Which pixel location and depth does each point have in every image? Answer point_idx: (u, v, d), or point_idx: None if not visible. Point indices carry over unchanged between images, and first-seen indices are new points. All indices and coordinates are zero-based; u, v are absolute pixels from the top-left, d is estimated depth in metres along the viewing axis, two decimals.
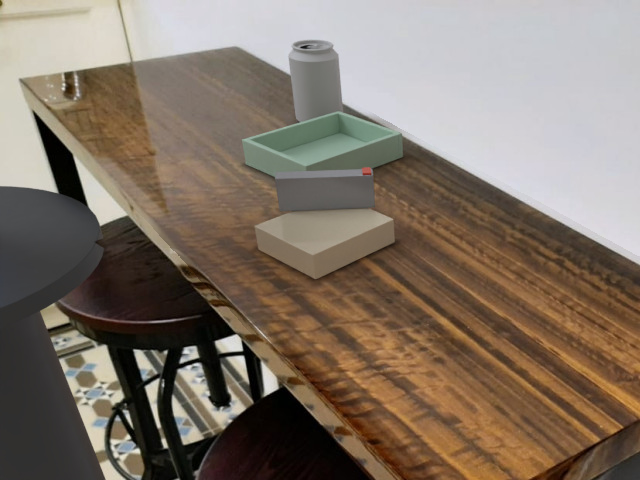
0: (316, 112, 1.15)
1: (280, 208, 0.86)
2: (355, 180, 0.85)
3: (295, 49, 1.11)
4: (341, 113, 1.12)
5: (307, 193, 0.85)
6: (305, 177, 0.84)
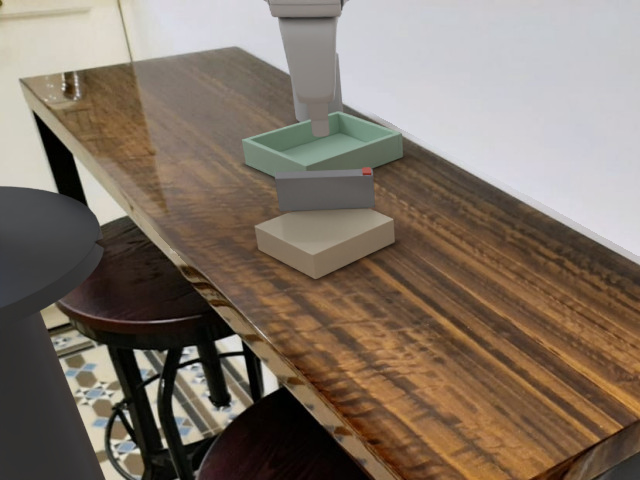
0: None
1: (280, 208, 0.86)
2: (355, 180, 0.85)
3: None
4: (341, 113, 1.12)
5: (307, 193, 0.85)
6: (305, 177, 0.84)
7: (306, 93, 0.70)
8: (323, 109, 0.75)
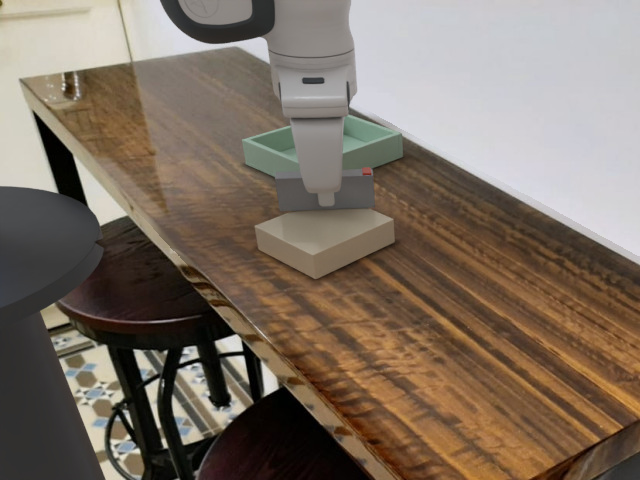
0: None
1: (280, 208, 0.86)
2: (355, 180, 0.85)
3: None
4: None
5: (307, 193, 0.85)
6: None
7: (314, 185, 0.76)
8: None
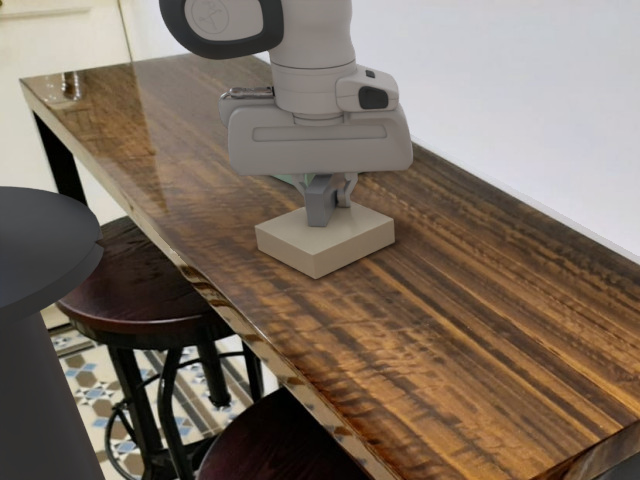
0: None
1: (325, 223, 0.83)
2: None
3: None
4: None
5: (330, 197, 0.85)
6: (327, 181, 0.84)
7: None
8: None
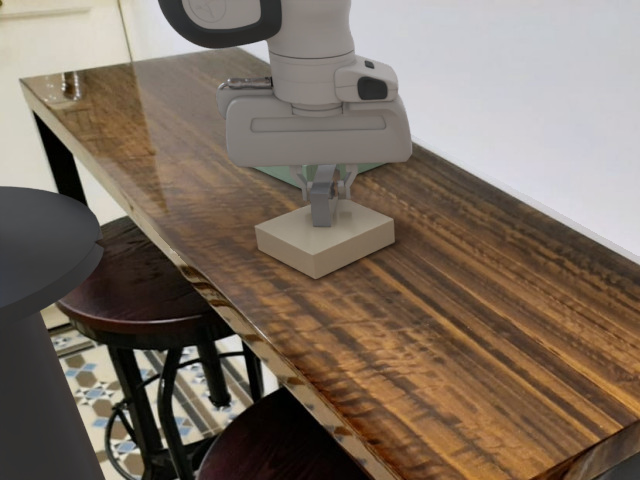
0: None
1: (330, 223, 0.83)
2: (337, 166, 0.88)
3: None
4: None
5: (332, 196, 0.85)
6: (329, 181, 0.84)
7: None
8: None
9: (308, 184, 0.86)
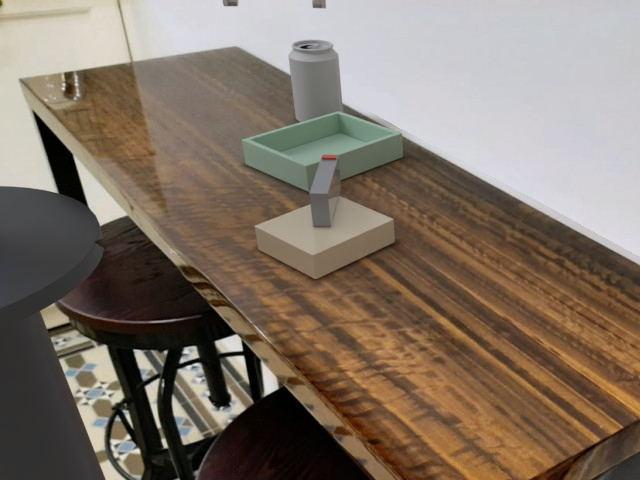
0: (316, 112, 1.15)
1: (330, 223, 0.83)
2: (337, 166, 0.88)
3: (295, 49, 1.11)
4: (341, 113, 1.12)
5: (332, 196, 0.85)
6: (329, 181, 0.84)
7: None
8: None
9: None
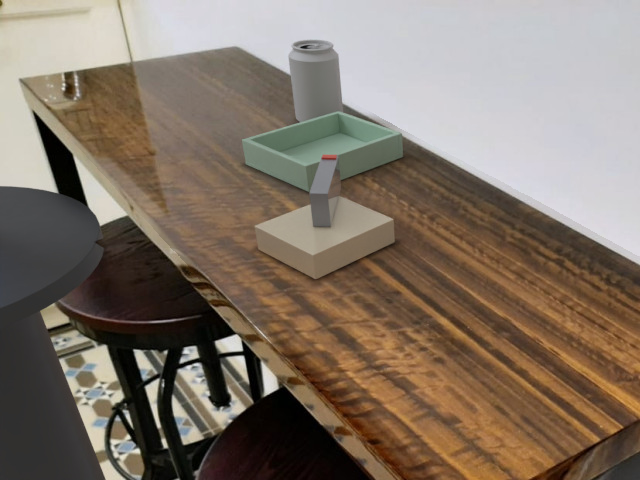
0: (316, 112, 1.15)
1: (330, 223, 0.83)
2: (337, 166, 0.88)
3: (295, 49, 1.11)
4: (341, 113, 1.12)
5: (332, 196, 0.85)
6: (329, 181, 0.84)
7: None
8: None
9: None
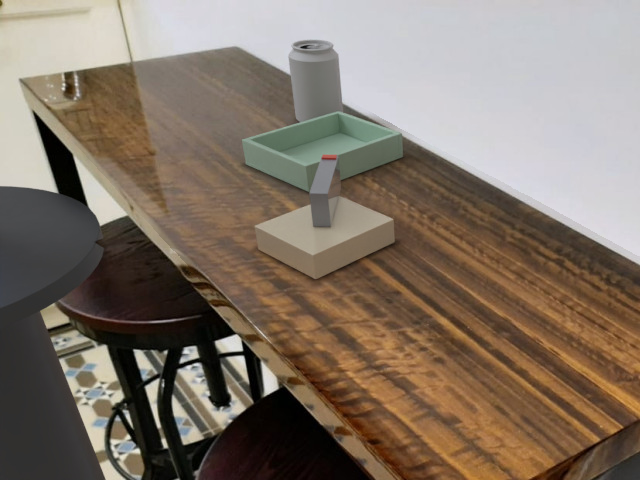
0: (316, 112, 1.15)
1: (330, 223, 0.83)
2: (337, 166, 0.88)
3: (295, 49, 1.11)
4: (341, 113, 1.12)
5: (332, 196, 0.85)
6: (329, 181, 0.84)
7: None
8: None
9: None
